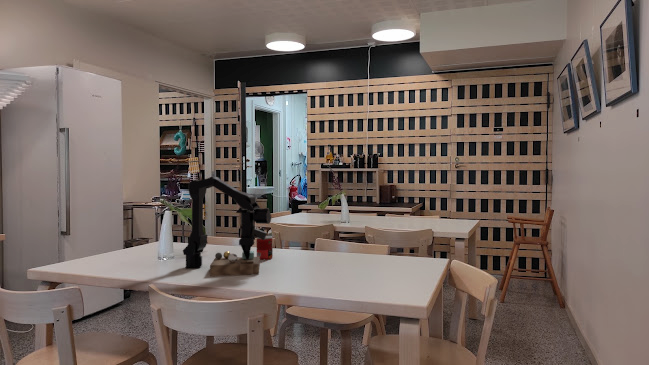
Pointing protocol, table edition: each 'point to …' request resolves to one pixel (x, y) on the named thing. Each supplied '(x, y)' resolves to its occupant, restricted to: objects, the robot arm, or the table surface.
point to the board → (235, 267)
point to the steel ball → (232, 258)
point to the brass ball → (226, 254)
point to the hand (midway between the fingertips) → (247, 258)
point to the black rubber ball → (218, 255)
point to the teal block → (249, 255)
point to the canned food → (265, 248)
